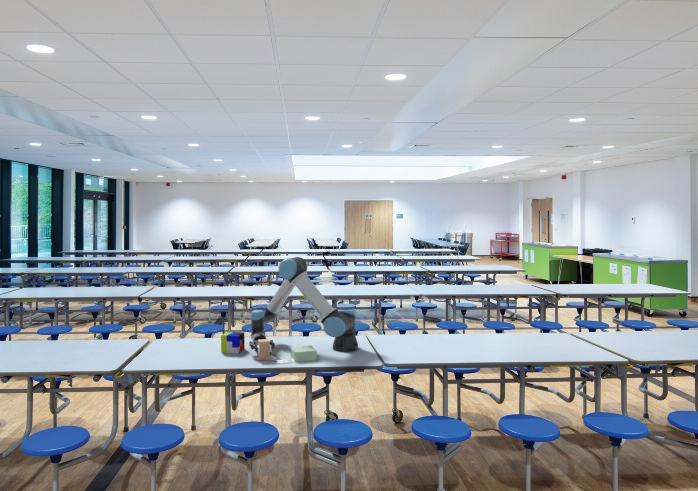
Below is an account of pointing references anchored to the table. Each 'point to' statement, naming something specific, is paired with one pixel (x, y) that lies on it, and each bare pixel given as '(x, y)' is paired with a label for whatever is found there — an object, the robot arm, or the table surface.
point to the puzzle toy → (232, 342)
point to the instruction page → (286, 361)
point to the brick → (264, 349)
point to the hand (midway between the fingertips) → (265, 349)
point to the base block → (303, 353)
